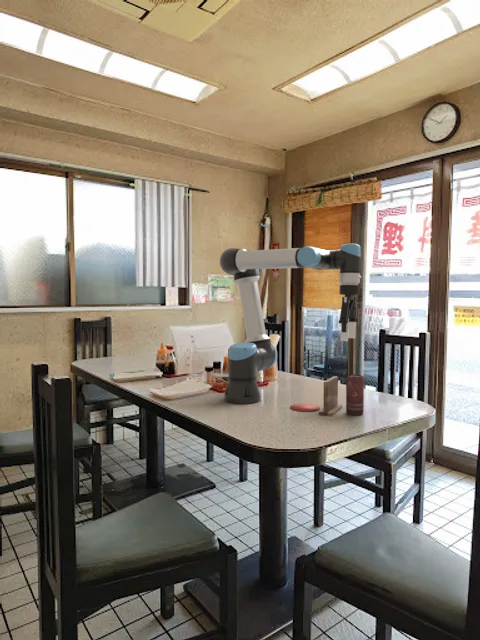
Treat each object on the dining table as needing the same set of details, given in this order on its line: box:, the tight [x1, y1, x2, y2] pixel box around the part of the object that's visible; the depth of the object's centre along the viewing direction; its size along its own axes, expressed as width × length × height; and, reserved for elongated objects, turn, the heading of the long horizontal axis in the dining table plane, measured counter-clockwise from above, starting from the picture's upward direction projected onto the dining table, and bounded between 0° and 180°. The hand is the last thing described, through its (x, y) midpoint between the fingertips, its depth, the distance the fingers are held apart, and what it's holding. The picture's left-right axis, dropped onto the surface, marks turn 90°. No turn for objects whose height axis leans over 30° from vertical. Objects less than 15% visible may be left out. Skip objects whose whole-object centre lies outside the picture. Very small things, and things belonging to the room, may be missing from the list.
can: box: [345, 374, 365, 417], centre depth 162 cm, size 6×6×14 cm
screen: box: [318, 375, 343, 417], centre depth 166 cm, size 5×14×12 cm, turn 153°
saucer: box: [290, 402, 321, 413], centre depth 171 cm, size 11×11×1 cm
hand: (348, 339), depth 173 cm, fingers open, 13 cm apart
